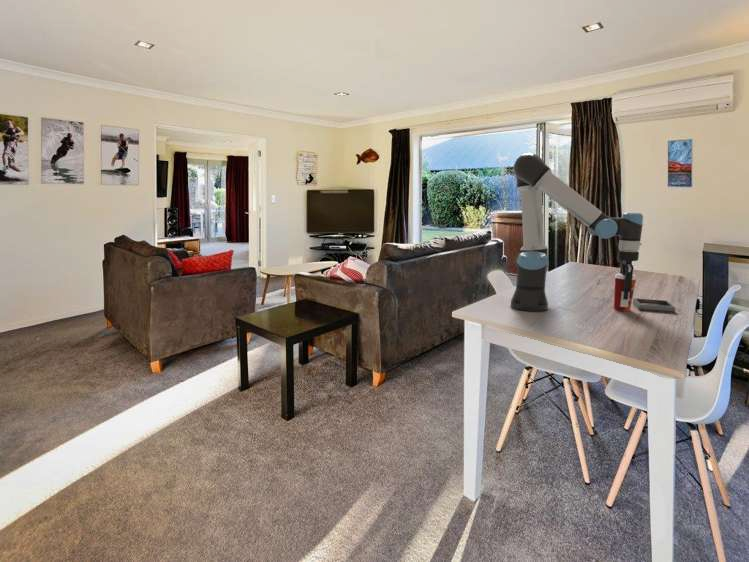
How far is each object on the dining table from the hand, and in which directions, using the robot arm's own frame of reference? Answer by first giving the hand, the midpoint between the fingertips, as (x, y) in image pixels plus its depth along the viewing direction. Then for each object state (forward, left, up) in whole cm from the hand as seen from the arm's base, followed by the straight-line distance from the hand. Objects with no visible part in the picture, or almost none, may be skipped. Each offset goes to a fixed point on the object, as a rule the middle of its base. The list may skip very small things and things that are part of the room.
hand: (622, 304), depth 187 cm
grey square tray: (+13, +8, -2) cm, 15 cm away
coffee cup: (0, 0, -2) cm, 2 cm away
